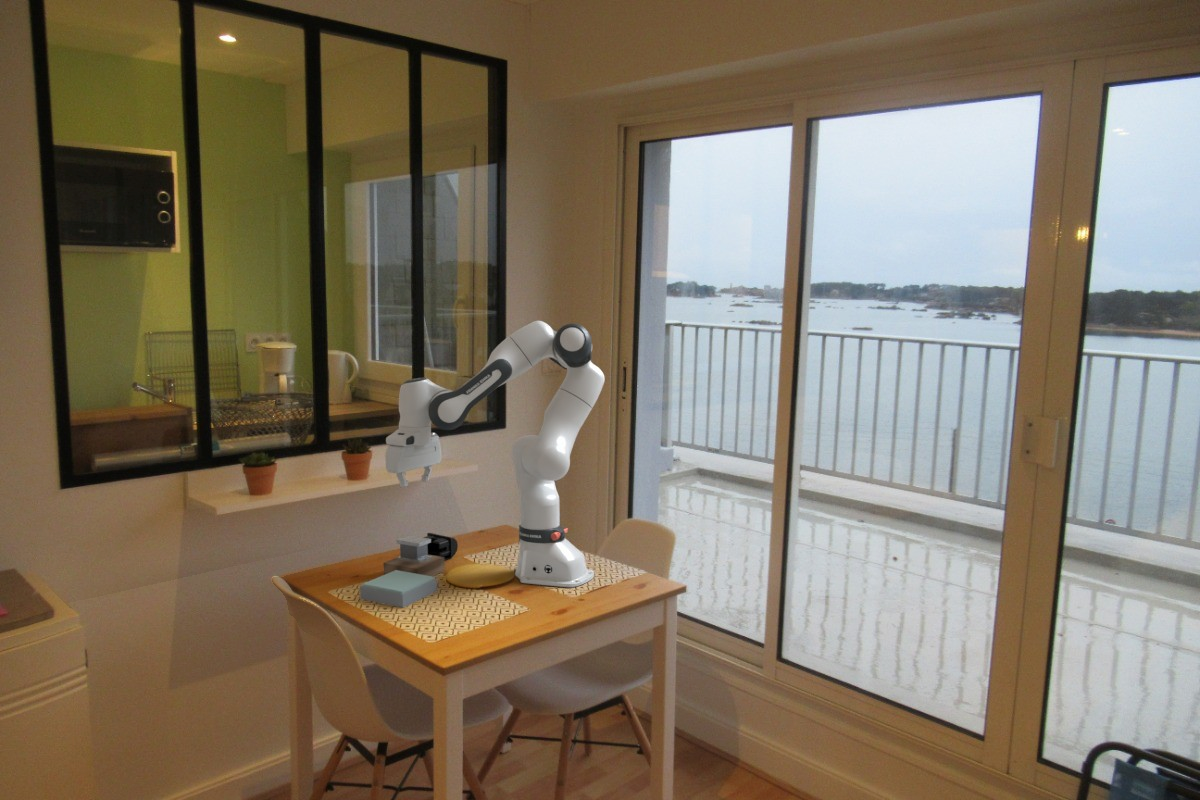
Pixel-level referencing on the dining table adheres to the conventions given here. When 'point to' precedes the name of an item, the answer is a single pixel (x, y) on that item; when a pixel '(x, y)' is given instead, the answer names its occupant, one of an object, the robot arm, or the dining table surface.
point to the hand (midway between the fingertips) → (414, 484)
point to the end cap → (442, 546)
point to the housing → (414, 549)
